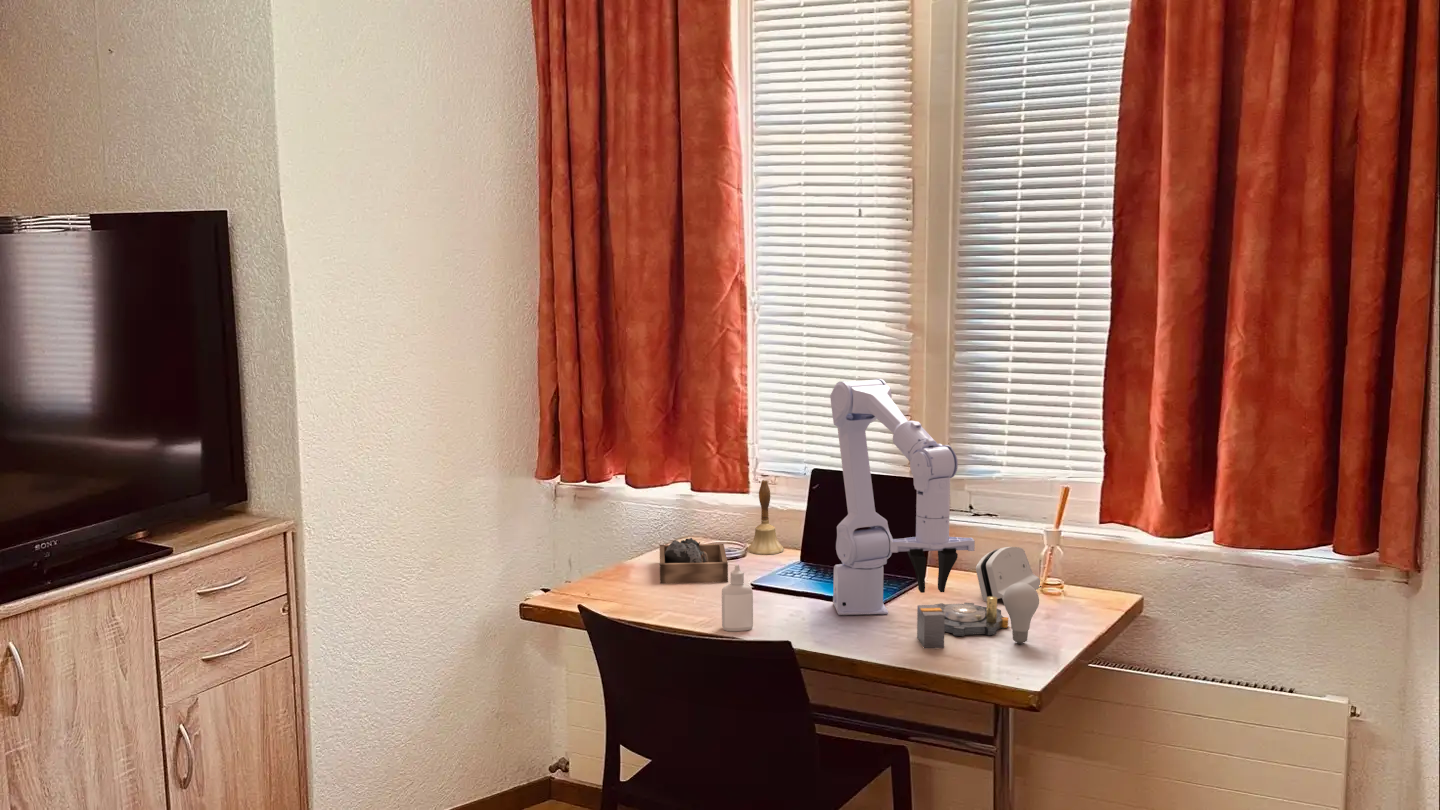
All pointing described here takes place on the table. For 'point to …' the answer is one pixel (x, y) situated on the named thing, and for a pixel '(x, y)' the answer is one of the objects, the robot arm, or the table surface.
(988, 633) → the sprocket
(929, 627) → the marked link
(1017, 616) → the lightbulb
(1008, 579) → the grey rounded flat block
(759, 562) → the table surface
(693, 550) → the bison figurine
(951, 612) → the hub
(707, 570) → the open wooden box
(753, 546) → the hand bell
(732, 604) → the eye dropper bottle
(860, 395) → the robot arm
